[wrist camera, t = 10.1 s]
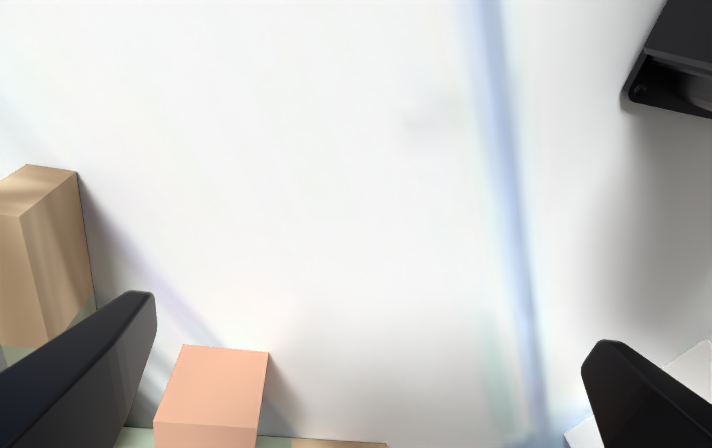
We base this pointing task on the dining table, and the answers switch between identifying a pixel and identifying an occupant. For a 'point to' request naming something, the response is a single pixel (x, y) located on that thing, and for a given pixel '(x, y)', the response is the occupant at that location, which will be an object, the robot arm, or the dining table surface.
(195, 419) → the cube
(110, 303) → the robot arm
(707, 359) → the milk
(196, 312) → the dining table surface
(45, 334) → the arena
